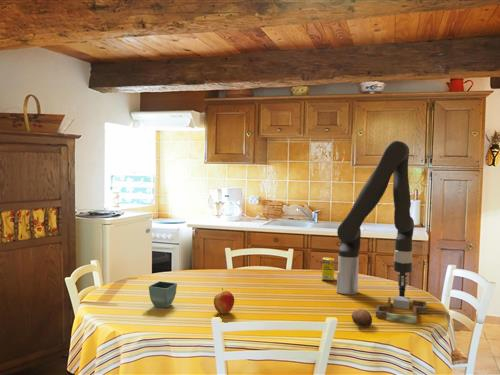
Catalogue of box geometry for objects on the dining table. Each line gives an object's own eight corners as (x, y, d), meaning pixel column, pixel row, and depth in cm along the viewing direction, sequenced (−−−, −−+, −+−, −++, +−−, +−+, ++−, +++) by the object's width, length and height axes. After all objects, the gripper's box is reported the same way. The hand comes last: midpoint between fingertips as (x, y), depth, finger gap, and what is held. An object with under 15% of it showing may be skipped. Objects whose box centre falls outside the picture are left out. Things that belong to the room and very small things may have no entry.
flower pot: (177, 303, 188) (177, 283, 188) (167, 310, 180) (167, 288, 179) (159, 301, 191) (159, 280, 191) (148, 307, 183) (148, 286, 182)
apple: (226, 318, 172) (226, 292, 172) (209, 314, 177) (209, 289, 176) (238, 312, 179) (238, 287, 178) (221, 308, 183) (221, 284, 183)
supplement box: (333, 281, 226) (334, 260, 225) (321, 281, 227) (322, 259, 226) (333, 278, 231) (334, 258, 231) (322, 278, 233) (322, 257, 232)
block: (393, 307, 188) (393, 299, 187) (394, 303, 193) (395, 295, 193) (408, 309, 185) (408, 301, 185) (409, 305, 191) (409, 297, 190)
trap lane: (375, 318, 173) (375, 312, 173) (378, 302, 194) (378, 296, 194) (428, 325, 167) (428, 318, 167) (425, 307, 188) (425, 301, 188)
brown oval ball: (346, 312, 171) (354, 302, 168) (365, 319, 172) (373, 309, 169) (348, 328, 164) (356, 318, 161) (367, 336, 165) (376, 326, 162)
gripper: (394, 256, 203) (393, 294, 204) (393, 262, 191) (392, 302, 192) (411, 258, 201) (410, 295, 202) (412, 264, 188) (411, 304, 189)
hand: (401, 299), depth 197 cm, fingers closed
